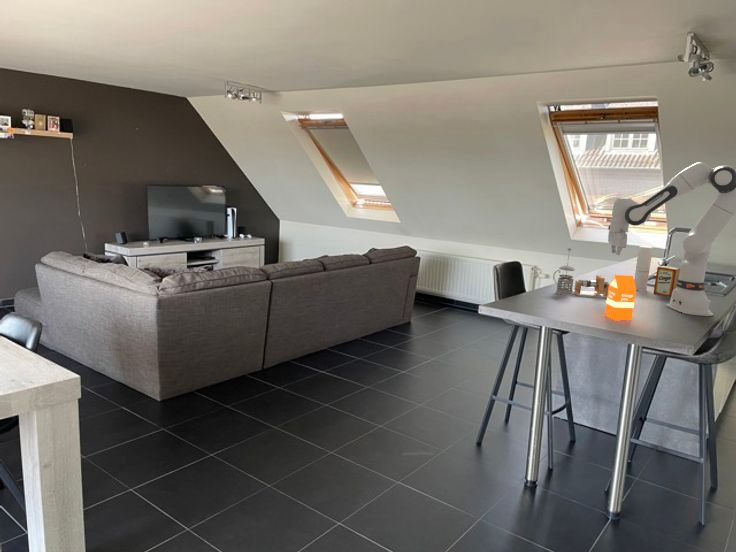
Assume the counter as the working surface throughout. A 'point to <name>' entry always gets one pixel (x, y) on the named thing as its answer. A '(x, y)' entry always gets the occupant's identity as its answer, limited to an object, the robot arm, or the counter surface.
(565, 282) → the french press
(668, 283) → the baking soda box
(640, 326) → the counter surface
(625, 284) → the orange juice
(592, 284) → the pipe rig
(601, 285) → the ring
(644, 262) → the cylindrical container
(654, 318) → the counter surface
